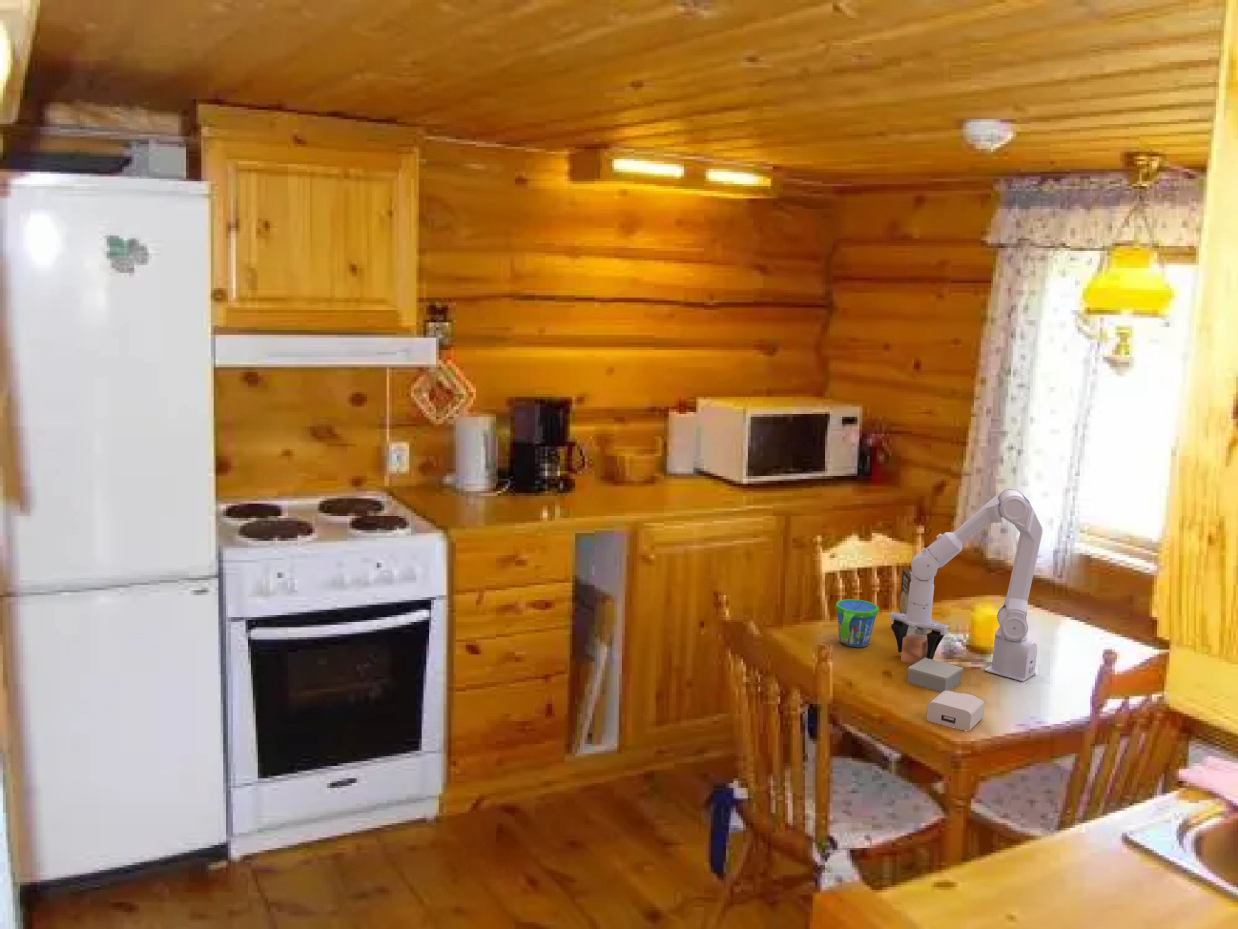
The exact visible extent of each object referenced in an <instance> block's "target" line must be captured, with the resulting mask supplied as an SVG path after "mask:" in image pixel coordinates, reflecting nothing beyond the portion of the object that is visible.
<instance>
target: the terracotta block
mask: <svg viewBox="0 0 1238 929" xmlns="http://www.w3.org/2000/svg"><path fill="white" fill-rule="evenodd" d="M927 650H928V642H927V637H925V636H921V635H917V634H914V633H912V634H910V635H908V636H906V637H903V643H902V652H901V653H900V654H901V656H900V661H901V662H903V663H906V662H907V664H910V665H913V664H915V663H917V662H918V661H920V660H922V659H924V658H927Z"/></svg>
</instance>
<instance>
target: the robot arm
mask: <svg viewBox="0 0 1238 929" xmlns="http://www.w3.org/2000/svg"><path fill="white" fill-rule="evenodd" d="M1002 518H1003V519H1004V520H1006V521H1007V522H1008V523H1010V524H1012V525H1013V526H1014V527H1015V528H1016V530H1018V532H1019V536H1018V543H1017V547H1016V551H1015V555H1014V560H1013V565H1012V569H1011V573H1010V574H1011V576H1010V581H1009V584H1008V588H1007V593H1006V596H1005V598H1004V602H1003V605H1001V608H999V610H998V612H997V615H996V619H997V622H998V624H999V628H998V629H997V630H996V631H995V632H994V640H993V641H994V642H993V651H992V658H991V659H992V660H991V664H990V665H989V666H988V667H986V668H985V669H984V671H985V672H988V673H992V674H995V675H999V676H1001V677H1005V678H1009V679H1013V680H1015V681H1020V682H1024V681H1026V680H1028V679H1029V678H1031V677H1032V676H1034V675H1036V674H1037V672H1036V665H1037V664H1036V663H1037V657H1038V656H1037V654H1038V645H1037V643H1036V642H1034V641H1031V640H1030V639H1028V635H1027V634H1028V632H1029V625H1028V621H1027V617H1028V616H1027V615H1028V603H1029V602H1028V600H1029V599H1030V598H1029V596H1030V591H1031V587H1032V585H1033V584H1032V582H1033V579H1034V574H1035V569H1036V564H1037V561H1038V554H1039V551H1040V550H1039V549H1040V546H1041V541H1042V537H1043V532H1044V531H1043V527H1042V524H1041V522H1040V520H1039V518H1038V516H1037V514H1036V512H1035V510H1034V506H1032V504H1031V502H1030V501H1029V499H1028V498H1027V497H1026V496H1025V495H1024V494H1023V493H1022V492H1021V491H1019V490H1018V489H1016V488H1007V489H1004V490H1003V491H1001V492H1000V493H999V494H998V496H997V495H995V496H994V497H992V498H991V499H990V500H989V501H987V502H986V503H985V504H984V505H983V506H981V507H980V508H979V509H978V510H977V511H976V512H975V513H974V514H973V515H971V517H969V518H968V519H967V520H966V521H965V522H963V524H961V525H960V526H959V527H958V528H957V529H956V530H955V531H952V532H951V531H949V532H947V531H946V532H944V533H943V534H942V533H939V534H938V535H936V536H935V537H936V539H935V540H934V541H933V542H932V543H931V544H929V545H928V546H927V547H922V548H921V549H920V550H921V552H918V553H916V554H915V555H914V556H913V558H912V560H911V561H910V566H911V569H912V575H911V582H910V588H909V599H908V611H907V614H903V613H899V612H896V611H892V612H891V613H889V622H893V623H892V624H891V625H890V628H891V630H892V632H893V635H894V637H895V641H896V645H897V651H898V653H900V654H902V643H903V637H906V635H907V631H908V627H909V625H911V626H915V627H918V628H922V629H926V630H928V631H930V632H928V634H927V642H928V650H927V658H928V659H932V660H934V657H935V654H936V651H937V650H938V647H939V645H940V643H941V642H942V640H943V638H944V637H945V636H947V634H948V633H949V625H946V624H943V623H941V622H939V621H936V620H934V619H932V615H933V614H932V613H933V604H934V594H935V592H934V591H935V584H934V583H935V582H934V580H935V577H936V576H937V573H938V569H939V568H943V567H944V566H945V565H946V564H947V563H948V562H950V561H952V559H953V558H955V557H956V556H957V555H958V554H960V553H962V551H963V545H964V543H965V542H966V541H968V540H969V539H970V538H972V537H973V536H974V535H975V534H977V533H978V532H979V531H981V530H982V529H984V528H986V526H987V525H989V524H994V523H995V524H997V523H998V524H999V523H1003V520H1002Z"/></svg>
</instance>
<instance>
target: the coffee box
mask: <svg viewBox="0 0 1238 929" xmlns="http://www.w3.org/2000/svg"><path fill="white" fill-rule="evenodd" d="M901 574H902V576H901V587H900V598H899V606H898V607H899V608H898V613H903V614H907V611H908V599H909V588H910V582H911V575H912V568H910V569H909V568H908V569H905V568H902V573H901ZM912 633H914V634H917V635H921V636H925V637H927V634H928V633H929V630H926V629H922V628H918V627H915V626H911V625H909V627H908V631H907V635H906V636H908V635H910V634H912Z"/></svg>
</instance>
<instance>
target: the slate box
mask: <svg viewBox="0 0 1238 929" xmlns="http://www.w3.org/2000/svg"><path fill="white" fill-rule="evenodd" d="M907 671H908V676H907V684H910V683H911V685H914V686H918V687H921V688H924V687H925V688H924V689H929V690H932V691H935V692H939V693H942V692H943V691H951V690H952V689H953V688H955V687H956V686H959V685H960V684H961V681H962V672H963V671H964V667H961V666H958V665H954V664H950V663H946V662H943V661H938V660H935V659H928V658H924V659H922V660H920V661H918V662H917V663H915V664H911V665H910V666H909V667H907Z"/></svg>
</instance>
